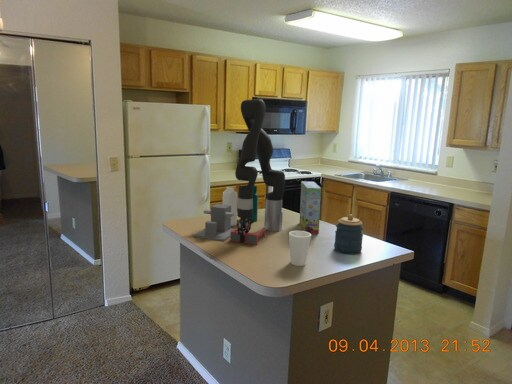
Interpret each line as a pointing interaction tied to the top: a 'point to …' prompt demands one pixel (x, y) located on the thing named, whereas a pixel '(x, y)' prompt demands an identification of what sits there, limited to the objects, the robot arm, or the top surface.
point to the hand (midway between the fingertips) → (244, 240)
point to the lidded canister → (348, 235)
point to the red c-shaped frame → (247, 236)
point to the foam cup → (299, 247)
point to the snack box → (310, 207)
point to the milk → (231, 203)
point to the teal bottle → (255, 204)
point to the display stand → (217, 223)
